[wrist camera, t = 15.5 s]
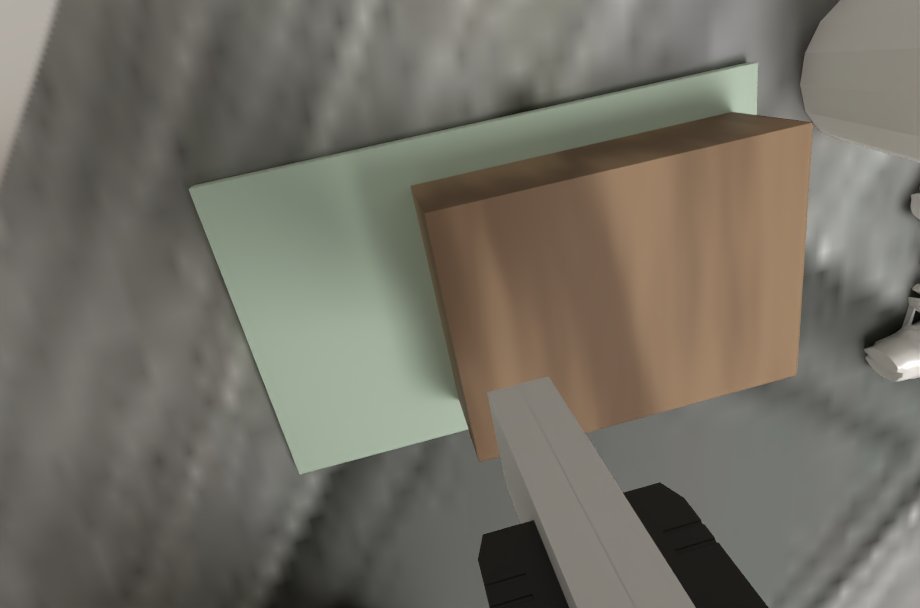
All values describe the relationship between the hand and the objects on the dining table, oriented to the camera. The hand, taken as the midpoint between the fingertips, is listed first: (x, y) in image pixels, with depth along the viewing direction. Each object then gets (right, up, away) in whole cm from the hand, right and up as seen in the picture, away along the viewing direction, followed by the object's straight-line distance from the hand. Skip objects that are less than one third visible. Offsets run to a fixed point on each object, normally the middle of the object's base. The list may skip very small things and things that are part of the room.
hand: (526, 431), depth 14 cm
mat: (0, +4, +9) cm, 10 cm away
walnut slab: (-2, +2, +6) cm, 7 cm away
